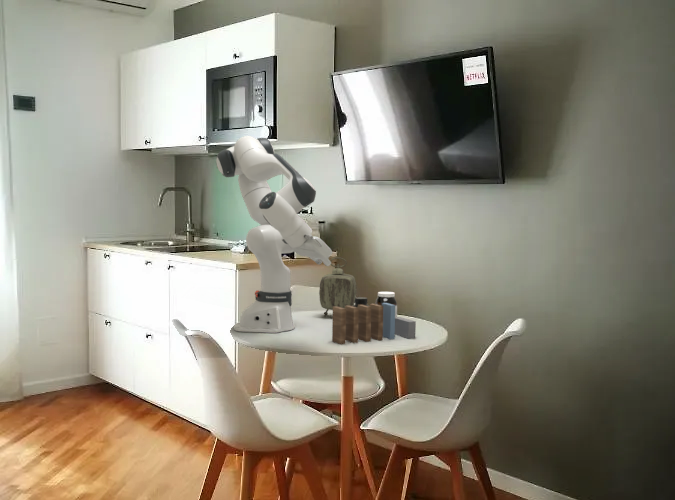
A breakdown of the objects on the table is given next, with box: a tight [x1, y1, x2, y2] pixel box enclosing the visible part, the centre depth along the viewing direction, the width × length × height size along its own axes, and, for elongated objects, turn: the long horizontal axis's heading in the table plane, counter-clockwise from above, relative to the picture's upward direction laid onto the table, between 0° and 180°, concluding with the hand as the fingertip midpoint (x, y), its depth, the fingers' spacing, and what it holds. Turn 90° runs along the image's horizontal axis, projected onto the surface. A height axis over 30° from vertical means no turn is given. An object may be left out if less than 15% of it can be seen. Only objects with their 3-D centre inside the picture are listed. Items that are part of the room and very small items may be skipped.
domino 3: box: [358, 305, 372, 343], centre depth 236 cm, size 2×6×12 cm, turn 29°
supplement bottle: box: [353, 296, 370, 308], centre depth 255 cm, size 7×7×12 cm
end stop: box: [395, 316, 417, 340], centre depth 244 cm, size 3×10×6 cm, turn 29°
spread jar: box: [374, 291, 398, 317], centre depth 273 cm, size 12×11×12 cm
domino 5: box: [382, 303, 396, 340], centre depth 241 cm, size 2×6×12 cm, turn 29°
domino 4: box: [369, 303, 384, 341], centre depth 238 cm, size 2×6×12 cm, turn 29°
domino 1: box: [331, 306, 346, 345], centre depth 231 cm, size 2×6×12 cm, turn 29°
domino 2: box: [345, 305, 359, 344], centre depth 233 cm, size 2×6×12 cm, turn 29°
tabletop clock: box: [318, 256, 357, 316], centre depth 279 cm, size 14×9×25 cm, turn 82°
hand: (324, 263), depth 224 cm, fingers open, 5 cm apart
